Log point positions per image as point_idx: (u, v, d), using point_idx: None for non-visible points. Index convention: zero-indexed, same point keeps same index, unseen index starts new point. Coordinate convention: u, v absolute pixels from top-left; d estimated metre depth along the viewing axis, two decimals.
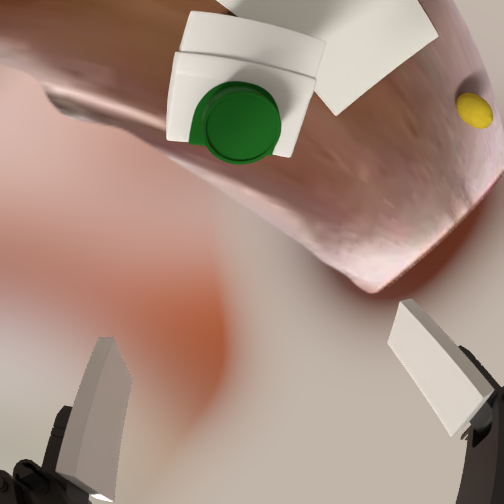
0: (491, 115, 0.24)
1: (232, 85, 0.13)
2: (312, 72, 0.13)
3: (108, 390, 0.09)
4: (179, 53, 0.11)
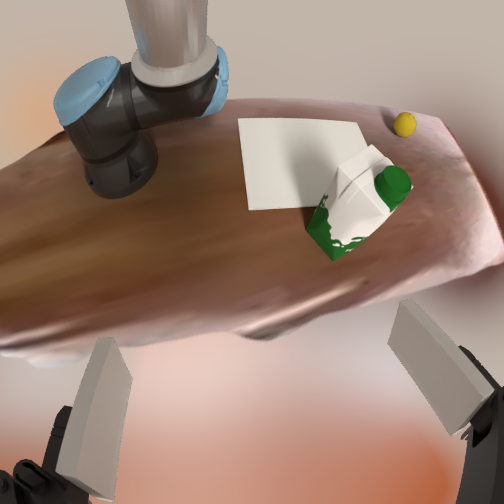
0: (409, 113, 0.52)
1: (376, 178, 0.30)
2: (382, 156, 0.32)
3: (108, 390, 0.09)
4: (352, 181, 0.30)
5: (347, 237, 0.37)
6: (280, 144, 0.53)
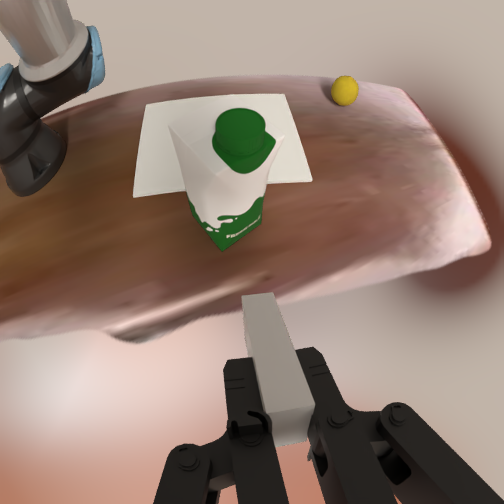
0: (347, 76, 0.44)
1: None
2: (243, 104, 0.24)
3: None
4: (180, 139, 0.22)
5: (211, 217, 0.29)
6: None
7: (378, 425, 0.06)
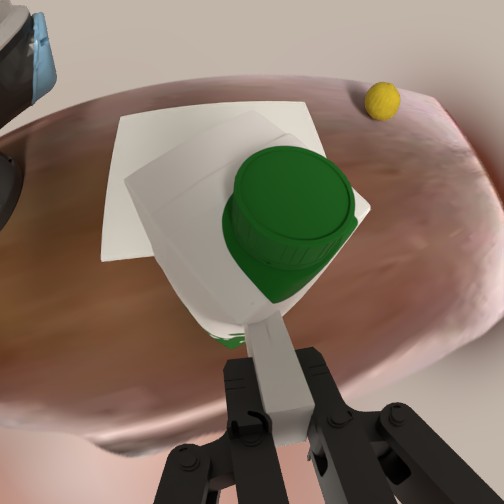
0: (387, 83, 0.32)
1: None
2: (278, 132, 0.12)
3: None
4: (150, 218, 0.10)
5: (219, 333, 0.17)
6: (168, 146, 0.33)
7: (378, 425, 0.06)
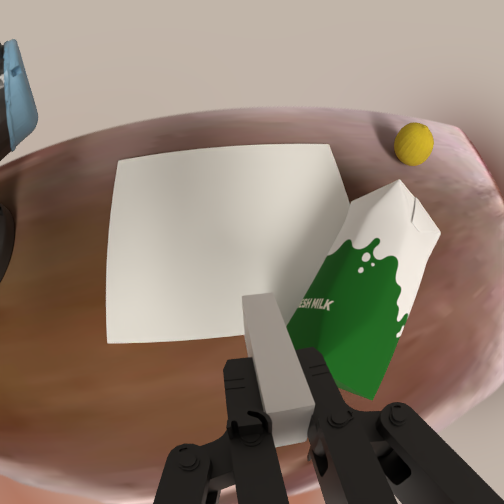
0: (421, 125, 0.29)
1: None
2: None
3: None
4: (415, 197, 0.23)
5: (413, 301, 0.20)
6: (175, 205, 0.30)
7: (378, 425, 0.06)
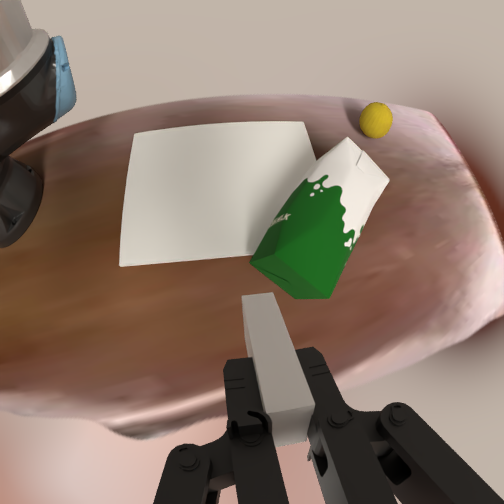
0: (380, 103, 0.37)
1: None
2: None
3: None
4: None
5: (361, 223, 0.28)
6: (179, 164, 0.38)
7: (378, 425, 0.07)
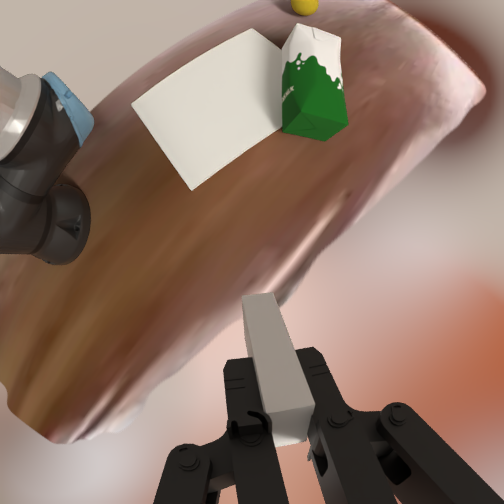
0: None
1: None
2: None
3: None
4: (312, 27, 0.32)
5: (339, 72, 0.32)
6: (185, 101, 0.42)
7: (377, 426, 0.06)
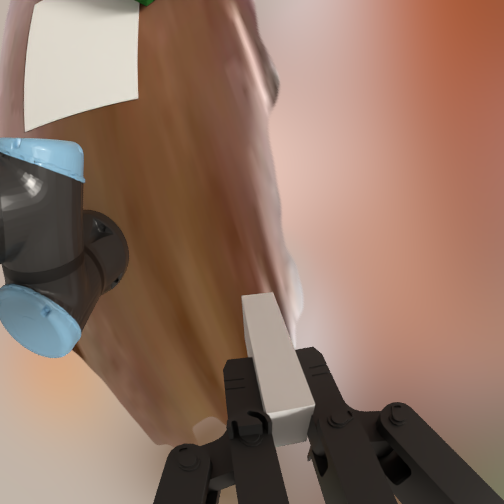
0: None
1: None
2: None
3: None
4: None
5: None
6: (58, 76, 0.30)
7: (378, 425, 0.07)
